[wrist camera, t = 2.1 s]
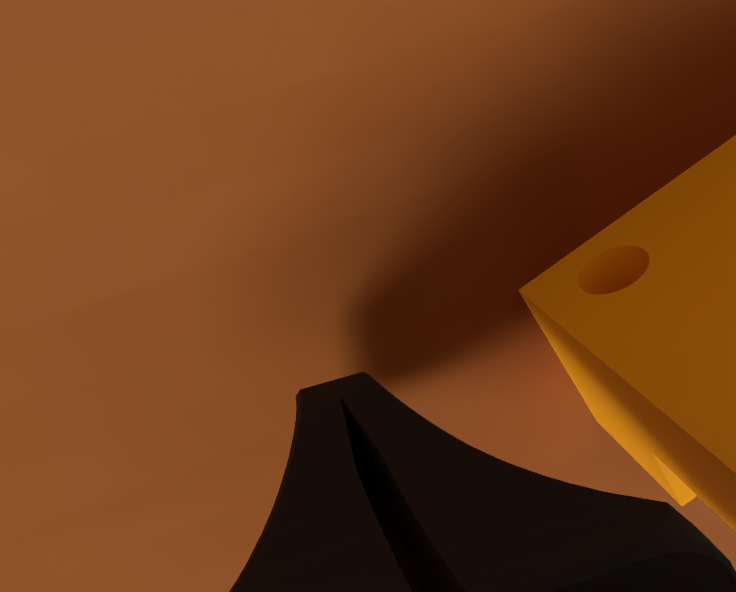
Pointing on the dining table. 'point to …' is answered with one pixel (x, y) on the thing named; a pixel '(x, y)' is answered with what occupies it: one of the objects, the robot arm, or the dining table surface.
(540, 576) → the robot arm
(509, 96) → the dining table surface
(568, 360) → the pipe clamp
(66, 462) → the dining table surface
